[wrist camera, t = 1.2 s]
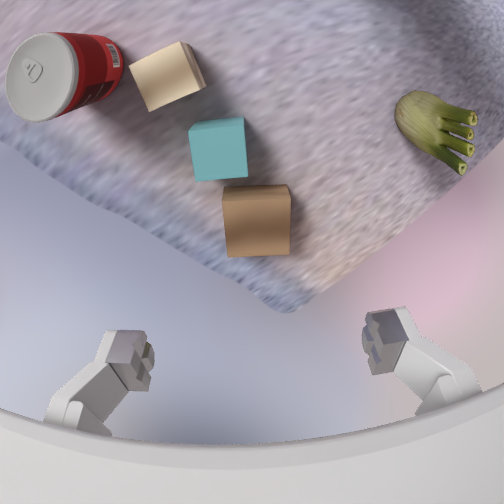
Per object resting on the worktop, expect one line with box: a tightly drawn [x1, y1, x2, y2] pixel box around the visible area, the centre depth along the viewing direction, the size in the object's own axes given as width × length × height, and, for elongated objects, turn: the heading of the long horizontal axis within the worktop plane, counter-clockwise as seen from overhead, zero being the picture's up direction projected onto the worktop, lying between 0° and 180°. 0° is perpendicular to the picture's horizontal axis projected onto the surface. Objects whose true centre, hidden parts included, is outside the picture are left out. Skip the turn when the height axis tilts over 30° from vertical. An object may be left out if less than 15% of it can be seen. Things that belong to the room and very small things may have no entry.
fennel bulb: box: [394, 90, 478, 175], centre depth 24 cm, size 6×5×12 cm
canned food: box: [5, 32, 124, 123], centre depth 21 cm, size 8×8×11 cm
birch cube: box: [129, 41, 206, 112], centre depth 25 cm, size 5×5×5 cm
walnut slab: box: [222, 184, 291, 257], centre depth 35 cm, size 7×7×4 cm
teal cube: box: [188, 117, 248, 182], centre depth 29 cm, size 5×5×5 cm
